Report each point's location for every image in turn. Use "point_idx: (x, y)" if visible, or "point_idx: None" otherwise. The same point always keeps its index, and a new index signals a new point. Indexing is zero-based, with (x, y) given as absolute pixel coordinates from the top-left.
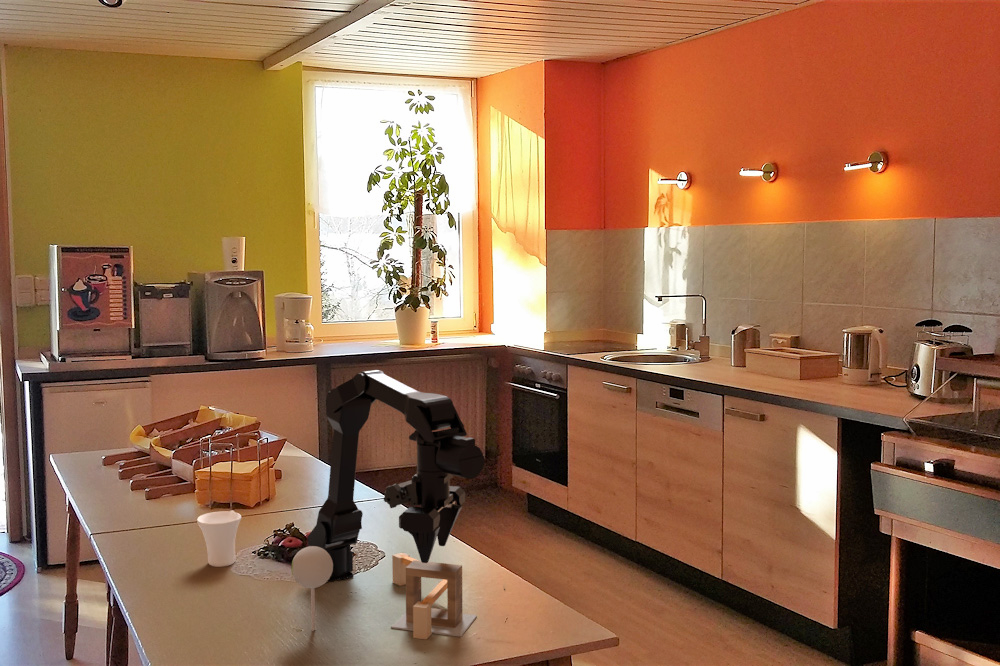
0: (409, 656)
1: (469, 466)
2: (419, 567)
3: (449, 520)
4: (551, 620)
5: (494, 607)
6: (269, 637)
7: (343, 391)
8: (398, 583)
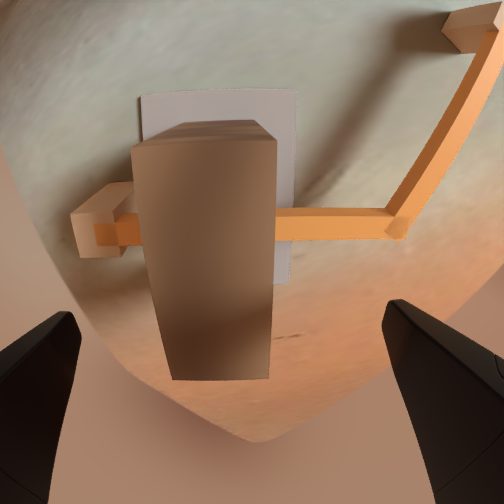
0: (34, 218)
1: None
2: (165, 223)
3: (446, 474)
4: (301, 392)
5: (351, 297)
6: None
7: None
8: (445, 25)
